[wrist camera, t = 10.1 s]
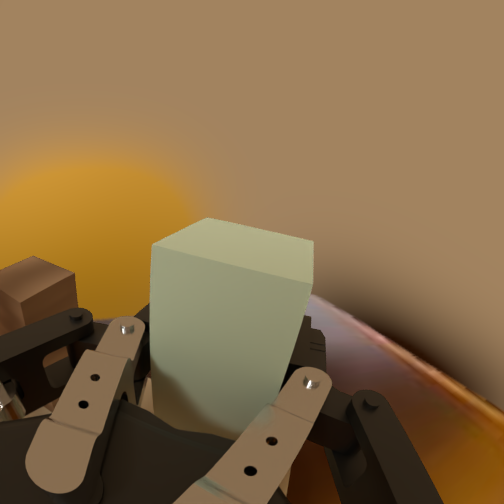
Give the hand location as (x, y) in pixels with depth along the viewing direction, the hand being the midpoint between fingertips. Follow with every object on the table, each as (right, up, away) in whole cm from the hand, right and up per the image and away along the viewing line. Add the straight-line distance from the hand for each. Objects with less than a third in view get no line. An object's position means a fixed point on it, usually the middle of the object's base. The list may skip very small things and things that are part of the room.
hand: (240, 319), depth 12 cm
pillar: (-2, -8, 0) cm, 8 cm away
